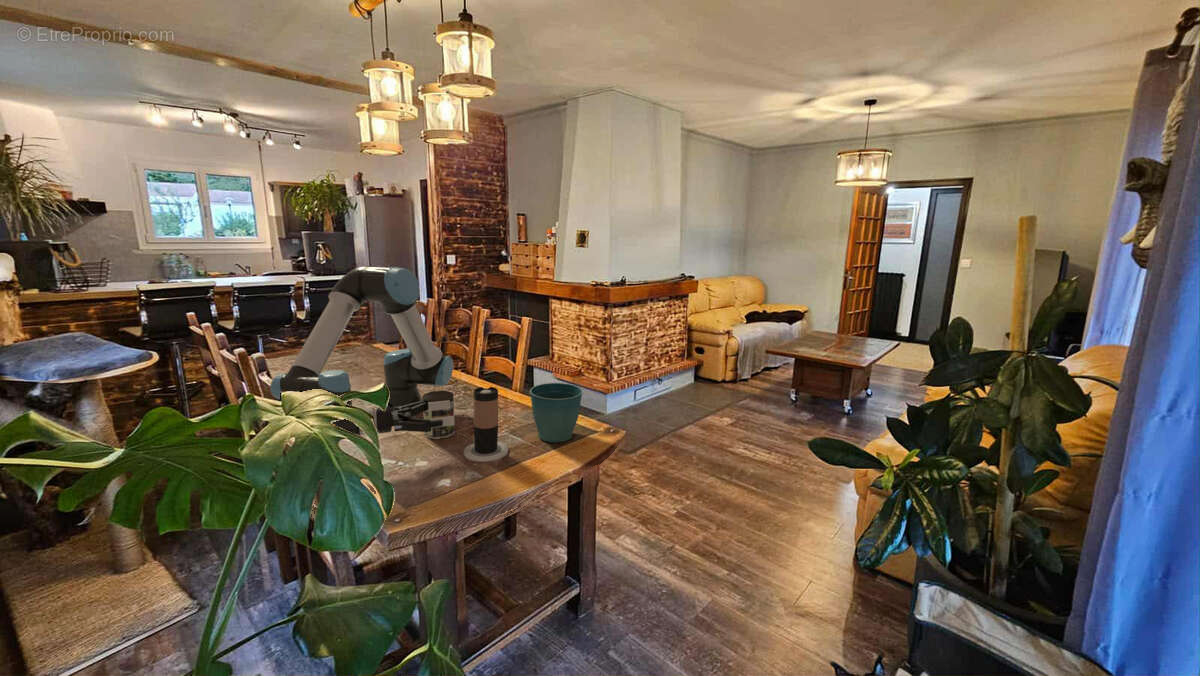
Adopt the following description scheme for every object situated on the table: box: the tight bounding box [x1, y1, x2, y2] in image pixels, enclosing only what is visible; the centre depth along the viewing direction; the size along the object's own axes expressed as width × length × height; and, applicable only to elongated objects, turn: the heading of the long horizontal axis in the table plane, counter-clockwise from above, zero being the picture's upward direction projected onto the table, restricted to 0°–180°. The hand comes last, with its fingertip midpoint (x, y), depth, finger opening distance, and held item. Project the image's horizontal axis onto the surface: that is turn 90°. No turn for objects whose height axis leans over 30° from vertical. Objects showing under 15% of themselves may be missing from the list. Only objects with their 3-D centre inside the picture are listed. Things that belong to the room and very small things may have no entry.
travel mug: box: [473, 386, 499, 454], centre depth 151 cm, size 8×8×20 cm
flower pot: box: [529, 382, 583, 443], centre depth 166 cm, size 18×18×17 cm
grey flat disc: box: [463, 440, 509, 463], centre depth 153 cm, size 14×14×1 cm
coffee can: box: [421, 390, 456, 440], centre depth 165 cm, size 10×10×14 cm
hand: (452, 412), depth 147 cm, fingers open, 13 cm apart
